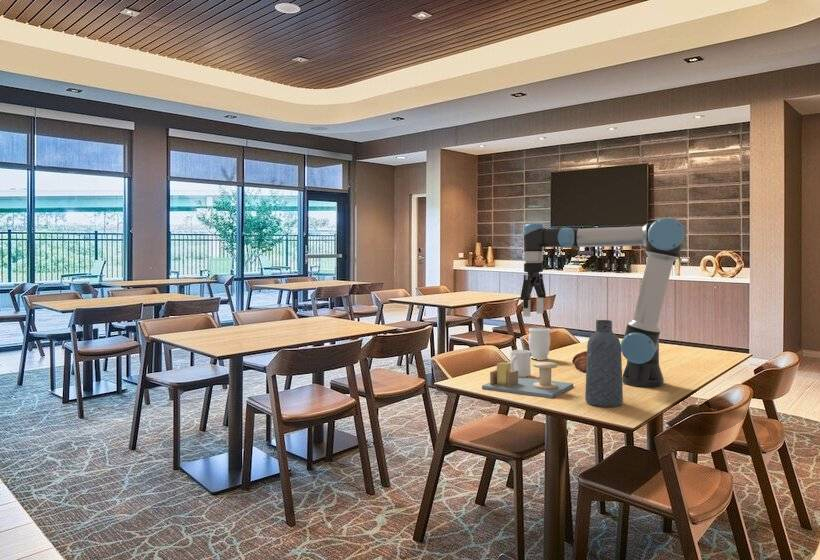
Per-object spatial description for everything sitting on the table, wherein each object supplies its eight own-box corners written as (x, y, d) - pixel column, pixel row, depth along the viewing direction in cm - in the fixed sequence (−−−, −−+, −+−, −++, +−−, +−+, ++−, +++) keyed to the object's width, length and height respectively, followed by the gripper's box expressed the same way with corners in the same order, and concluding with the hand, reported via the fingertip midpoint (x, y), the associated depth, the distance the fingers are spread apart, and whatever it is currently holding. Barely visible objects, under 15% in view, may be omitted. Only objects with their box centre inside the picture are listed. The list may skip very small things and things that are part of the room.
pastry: (615, 371, 252) (615, 353, 252) (584, 373, 248) (584, 355, 248) (592, 364, 268) (592, 347, 268) (563, 367, 264) (563, 349, 264)
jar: (524, 358, 287) (524, 327, 286) (543, 356, 290) (543, 327, 289) (535, 361, 277) (535, 330, 276) (554, 360, 280) (554, 329, 279)
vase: (608, 409, 189) (608, 323, 188) (577, 402, 198) (577, 320, 197) (630, 403, 196) (630, 320, 195) (599, 397, 206) (599, 318, 205)
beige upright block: (510, 383, 224) (510, 363, 223) (506, 385, 220) (506, 364, 220) (501, 382, 226) (501, 362, 226) (496, 384, 223) (496, 363, 222)
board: (573, 386, 223) (573, 361, 223) (552, 398, 205) (552, 370, 204) (506, 378, 239) (506, 354, 238) (482, 388, 221) (481, 363, 220)
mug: (520, 379, 236) (519, 354, 236) (502, 377, 241) (502, 352, 241) (533, 375, 245) (533, 350, 245) (516, 372, 251) (516, 349, 250)
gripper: (536, 262, 245) (536, 311, 246) (511, 262, 224) (511, 317, 225) (553, 261, 241) (553, 312, 241) (529, 262, 220) (530, 318, 221)
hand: (533, 315), depth 233 cm, fingers open, 13 cm apart
